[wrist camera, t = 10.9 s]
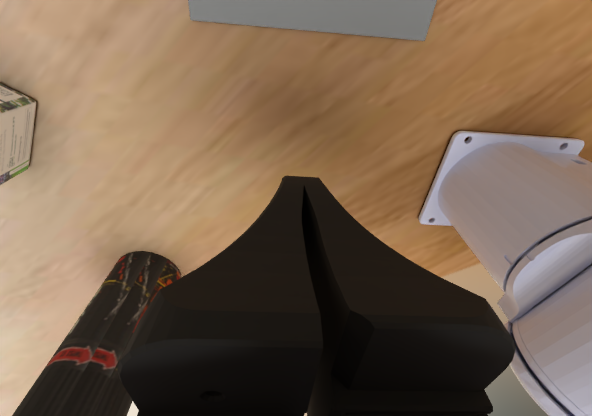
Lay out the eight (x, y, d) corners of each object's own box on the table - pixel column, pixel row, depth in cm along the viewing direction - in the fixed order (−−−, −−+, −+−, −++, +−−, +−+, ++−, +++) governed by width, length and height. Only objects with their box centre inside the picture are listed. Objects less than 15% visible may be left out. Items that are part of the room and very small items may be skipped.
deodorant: (116, 244, 25) (-52, 473, 12) (184, 260, 26) (92, 480, 14) (116, 286, 28) (-18, 500, 16) (177, 297, 29) (97, 504, 17)
